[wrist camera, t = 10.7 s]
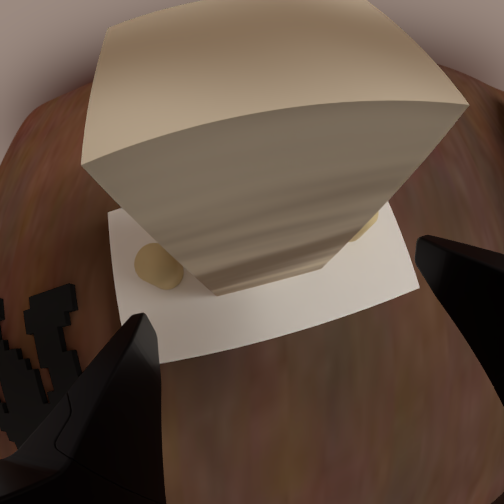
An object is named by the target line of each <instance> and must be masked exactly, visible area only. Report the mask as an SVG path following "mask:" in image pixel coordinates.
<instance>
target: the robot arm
mask: <svg viewBox="0 0 504 504" xmlns="http://www.w3.org/2000/svg"><path fill="white" fill-rule="evenodd" d="M415 263H416V265H417V267H418V269H419V270H420V272H421V273H422V275H423V276H424V278H425V280H426V281H427V283H428V284H429V286H430V288H431V289H432V291H433V293H434V294H435V296H436V297H437V299H438V300H439V302H440V303H441V304H442V306H443V307H444V309H445V310H446V311H447V313H448V314H449V316H450V317H451V319H452V320H453V321H454V323H455V324H456V326H457V327H458V329H459V330H460V332H461V333H462V335H463V336H464V338H465V339H466V341H467V343H468V344H469V346H470V347H471V349H472V350H473V352H474V354H475V355H476V357H477V359H478V360H479V362H480V364H481V365H482V367H483V369H484V370H485V372H486V374H487V376H488V377H489V379H490V381H491V383H492V385H493V386H494V389H495V391H496V393H497V394H498V396H499V398H500V400H501V402H502V404H503V406H504V254H501V253H497V252H494V251H490V250H486V249H483V248H479V247H475V246H471V245H468V244H464V243H460V242H456V241H452V240H448V239H444V238H439V237H435V236H431V235H425V236H422V237H419V238H418V239H417V243H416V252H415ZM0 504H166V497H165V486H164V472H163V456H162V430H161V373H160V363H159V351H158V338H157V334H156V332H155V330H154V328H153V326H152V324H151V322H150V321H149V319H148V317H147V315H146V314H145V313H138V314H133V315H131V316H130V317H129V319H128V320H127V321H126V322H125V323H124V324H123V325H122V327H121V328H120V329H119V330H118V331H117V332H116V334H115V335H114V336H113V337H112V338H111V339H110V341H109V342H108V343H107V344H106V345H105V346H104V348H103V349H102V350H101V351H100V352H99V353H98V355H97V356H96V357H95V358H94V359H93V361H92V362H91V363H90V364H89V366H88V367H87V368H86V369H85V370H84V372H83V373H82V374H81V375H80V376H79V378H78V379H77V380H76V381H75V383H74V384H73V385H72V386H71V388H70V389H69V390H68V393H66V394H65V395H64V396H63V398H62V399H61V400H60V402H59V403H58V404H57V405H56V407H55V408H54V409H53V410H52V411H51V413H50V414H49V415H48V416H47V417H46V418H45V420H44V421H43V422H42V423H41V424H40V425H39V426H38V428H37V429H36V430H35V431H34V432H33V433H32V434H31V435H30V437H29V438H28V439H27V440H26V441H25V442H24V443H23V445H22V446H21V447H20V448H19V449H18V450H17V451H16V452H15V453H14V454H12V455H11V456H9V457H7V458H4V459H1V460H0ZM491 504H504V493H503V494H502V495H501V496H499V497H498V498H497V499H496V500H495V501H494V502H493V503H491Z"/></svg>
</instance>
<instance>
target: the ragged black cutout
mask: <svg viewBox="0 0 504 504" xmlns="http://www.w3.org/2000/svg"><path fill="white" fill-rule="evenodd" d="M29 302H30V309H28V310H25V311H23V312H24V320H25V327H26V334H30V335H32V334H34V338H35V344H36V349H37V354H38V359H39V363H40V368H49V372H50V376H51V380H52V384H53V387H54V391H50V392H47V394H48V398H49V401H50V403H48V401H47V398H46V395H45V391H44V388H43V384H42V380H41V376H40V372H39V369H33V370H32V368H31V363H30V359H23V356H22V351H21V349H11V350H9V345H8V340H2V335H1V327H0V382H1V386H2V390H3V393H4V397H5V401H6V403H1V400H0V428H1V431H5V432H6V433H7V435H8V438H9V441H13V442H15V444H16V446H17V449H19V448H20V447H21V446H22V445H23V443H24V442H25V441H26V440H27V439H28V438H29V437H30V435H31V434H32V433H33V432H34V431H35V430H36V429H37V428H38V426H39V425H40V424H41V423H42V422H43V421H44V420H45V418H46V417H47V416H48V415H49V414H50V413H51V411H52V410H53V409H54V408H55V407H56V405H57V404H58V403H59V402H60V400H61V399H62V398H63V396H64V395H65V394H66V393H68V390H69V389H70V388H71V386H72V385H73V384H74V383H75V381H76V380H77V379H78V378H79V376H80V375H81V374H82V372H81V368H80V364H79V360H78V356H77V351H76V350H71V351H67V348H66V343H65V339H64V333H63V328H62V327H65V326H69V325H71V321H70V315H69V312H73V311H76V310H78V306H77V299H76V292H75V285H73V284H70V283H69V284H66V285H63V286H60V287H57V288H54V289H52V290H49V291H46V292H43V293H40V294H37V295H34V296H31V297H29ZM2 320H5V316H4V305H3V299H1V298H0V321H2ZM7 407H8V408H7Z"/></svg>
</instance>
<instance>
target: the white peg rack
mask: <svg viewBox="0 0 504 504" xmlns="http://www.w3.org/2000/svg"><path fill="white" fill-rule="evenodd" d="M108 224H109V238H110V249H111V259H112V268H113V276H114V283H115V290H116V297H117V303H118V309H119V315H120V320H121V325H123V324H124V323H125V322H126V321H127V320H128V319H129V317H130V316H131V315H133V314H138V313H145V314H146V315H147V317H148V319H149V321H150V322H151V324H152V326H153V328H154V330H155V332H156V334H157V338H158V351H159V363H160V364H161V363H166V362H172V361H177V360H182V359H187V358H192V357H197V356H202V355H207V354H211V353H216V352H220V351H225V350H229V349H233V348H237V347H241V346H245V345H249V344H253V343H257V342H261V341H265V340H268V339H272V338H276V337H279V336H283V335H286V334H290V333H293V332H297V331H300V330H303V329H307V328H310V327H313V326H316V325H319V324H323V323H326V322H329V321H332V320H335V319H338V318H341V317H344V316H347V315H350V314H352V313H355V312H358V311H361V310H364V309H366V308H369V307H372V306H375V305H377V304H380V303H383V302H385V301H388V300H390V299H393V298H395V297H398V296H401V295H403V294H405V293H408V292H410V291H413V290H415V289H418V288H420V287H419V284H418V281H417V278H416V274H415V271H414V268H413V265H412V262H411V259H410V256H409V254H408V251H407V248H406V245H405V242H404V240H403V237H402V234H401V232H400V229H399V227H398V224H397V222H396V219H395V217H394V214H393V212H392V209H391V207H390V205H389V202H388V201H387V202H386V203H385V204H384V205H383V207H382V208H381V209H380V210H379V211H378V212H377V213H376V214H375V215H374V216H373V217H372V218H371V219H370V220H369V221H368V222H367V223H366V224H365V225H364V227H363V228H362V229H361V230H360V231H359V232H358V233H357V234H356V235H355V236H354V237H353V238H352V239H351V240H350V241H349V242H348V243H347V244H346V245H345V246H344V247H343V248H342V249H341V250H340V251H339V252H338V253H337V254H336V255H335V256H334V257H333V258H332V259H331V260H330V261H329V262H328V263H327V264H326V265H325V266H324V267H323V268H321V269H319V270H316V271H312V272H309V273H305V274H301V275H298V276H294V277H290V278H287V279H283V280H279V281H275V282H272V283H268V284H264V285H260V286H256V287H253V288H249V289H245V290H241V291H237V292H233V293H229V294H225V295H221V296H216V295H215V294H213V293H212V292H211V291H210V290H209V289H208V288H207V287H205V286H204V285H203V284H202V283H201V282H200V281H199V280H198V279H196V278H195V277H194V276H193V275H192V274H191V273H190V272H189V271H188V270H187V269H185V268H184V267H183V266H182V265H181V264H180V263H179V262H178V261H177V260H176V259H175V258H174V257H172V256H171V255H170V254H169V253H168V252H167V251H166V250H165V249H164V248H163V247H162V246H161V245H160V244H159V243H158V242H156V241H155V240H154V239H153V238H152V237H151V236H150V235H149V234H148V233H147V232H146V231H145V230H144V229H143V228H142V227H141V226H140V225H139V224H138V223H137V222H136V221H135V220H134V219H133V218H132V217H131V216H130V215H129V214H128V213H127V212H126V211H125V210H124V209H123V208H120V209H117V210H114V211H111V212H108Z"/></svg>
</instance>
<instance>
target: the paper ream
mask: <svg viewBox="0 0 504 504" xmlns="http://www.w3.org/2000/svg"><path fill="white" fill-rule="evenodd" d="M468 106H469V104H468V102H467V101H466V100H465V98H464V97H463V96H462V94H461V93H460V92H459V91H458V89H457V88H456V87H455V85H454V84H453V83H452V82H451V81H450V79H449V78H448V77H447V76H446V75H445V73H444V72H443V71H442V70H441V69H440V68H439V66H438V65H437V64H436V63H435V62H434V61H433V60H432V59H431V58H430V57H429V56H428V54H426V52H425V51H423V49H422V48H421V47H420V46H419V45H418V44H417V43H416V42H415V41H414V40H412V38H411V37H410V36H408V35H407V34H406V33H405V32H404V31H403V30H402V29H401V28H400V27H399V26H398V25H396V24H395V23H394V22H393V21H392V20H390V19H389V18H388V17H387V16H386V15H385V14H383V13H382V12H381V11H379V10H378V9H377V8H376V7H375V6H373V5H372V4H371V3H369V2H368V1H367V0H203V1H197V2H193V3H188V4H183V5H179V6H175V7H171V8H167V9H163V10H160V11H156V12H153V13H150V14H147V15H143V16H140V17H137V18H134V19H131V20H128V21H125V22H123V23H120V24H117V25H115V26H112V27H110V28H108V29H107V32H106V36H105V39H104V42H103V46H102V49H101V52H100V56H99V60H98V64H97V68H96V72H95V77H94V81H93V85H92V90H91V95H90V100H89V106H88V112H87V118H86V125H85V132H84V140H83V149H82V160H81V166H82V167H83V168H84V169H85V170H86V171H87V172H88V173H89V174H90V175H91V176H92V177H93V178H94V179H95V180H96V182H97V183H98V184H99V185H100V186H101V187H102V188H103V189H104V190H105V191H106V192H107V193H108V194H109V195H110V196H111V197H112V198H113V199H114V200H115V201H116V202H117V203H118V204H119V205H120V206H121V207H122V208H123V209H124V210H125V211H126V212H127V213H128V214H129V215H130V216H131V217H132V218H133V219H134V220H135V221H136V222H137V223H138V224H139V225H140V226H141V227H142V228H143V229H144V230H145V231H146V232H147V233H148V234H149V235H150V236H151V237H152V238H153V239H154V240H155V241H156V242H158V243H159V244H160V245H161V246H162V247H163V248H164V249H165V250H166V251H167V252H168V253H169V254H170V255H171V256H172V257H174V258H175V259H176V260H177V261H178V262H179V263H180V264H181V265H182V266H183V267H184V268H185V269H187V270H188V271H189V272H190V273H191V274H192V275H193V276H194V277H195V278H196V279H198V280H199V281H200V282H201V283H202V284H203V285H204V286H205V287H207V288H208V289H209V290H210V291H211V292H212V293H213V294H215V295H216V296H221V295H225V294H229V293H233V292H237V291H241V290H245V289H249V288H253V287H256V286H260V285H264V284H268V283H272V282H275V281H279V280H283V279H287V278H290V277H294V276H298V275H301V274H305V273H309V272H312V271H316V270H319V269H321V268H323V267H324V266H325V265H326V264H327V263H328V262H329V261H330V260H331V259H332V258H333V257H334V256H335V255H336V254H337V253H338V252H339V251H340V250H341V249H342V248H343V247H344V246H345V245H346V244H347V243H348V242H349V241H350V240H351V239H352V238H353V237H354V236H355V235H356V234H357V233H358V232H359V231H360V230H361V229H362V228H363V227H364V225H365V224H366V223H367V222H368V221H369V220H370V219H371V218H372V217H373V216H374V215H375V214H376V213H377V212H378V211H379V210H380V209H381V208H382V207H383V205H384V204H385V203H386V202H387V201H388V200H389V199H390V198H391V197H392V196H393V195H394V194H395V192H396V191H397V190H398V189H399V188H400V187H401V186H402V185H403V184H404V183H405V181H406V180H407V179H408V178H409V177H410V176H411V175H412V174H413V172H414V171H415V170H416V169H417V168H418V167H419V166H420V164H421V163H422V162H423V161H424V160H425V159H426V157H427V156H428V155H429V154H430V153H431V152H432V150H433V149H434V148H435V147H436V146H437V144H438V143H439V142H440V141H441V140H442V138H443V137H444V136H445V135H446V134H447V132H448V131H449V130H450V129H451V127H452V126H453V125H454V124H455V122H456V121H457V120H458V119H459V117H460V116H461V115H462V114H463V112H464V111H465V110H466V108H467V107H468Z"/></svg>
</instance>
